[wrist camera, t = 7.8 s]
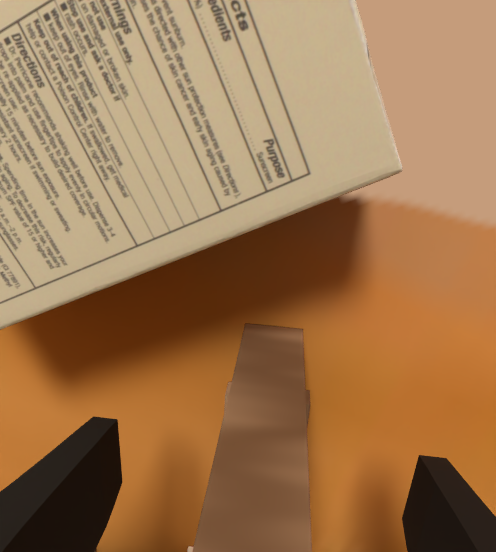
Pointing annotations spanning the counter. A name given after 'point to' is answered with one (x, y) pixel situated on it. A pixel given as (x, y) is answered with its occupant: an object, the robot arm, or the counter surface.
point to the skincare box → (171, 132)
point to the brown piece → (261, 451)
